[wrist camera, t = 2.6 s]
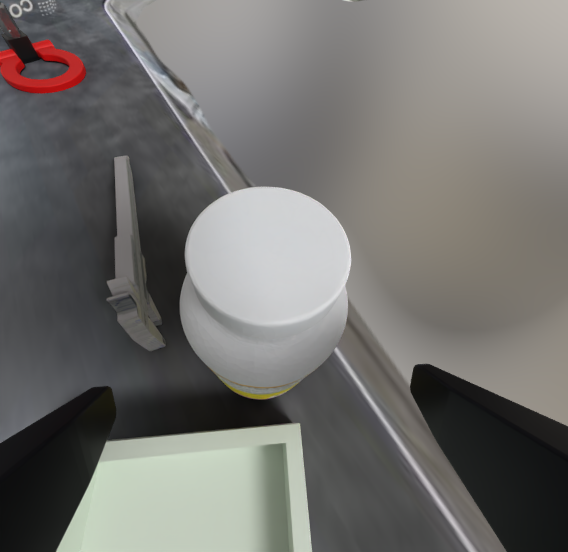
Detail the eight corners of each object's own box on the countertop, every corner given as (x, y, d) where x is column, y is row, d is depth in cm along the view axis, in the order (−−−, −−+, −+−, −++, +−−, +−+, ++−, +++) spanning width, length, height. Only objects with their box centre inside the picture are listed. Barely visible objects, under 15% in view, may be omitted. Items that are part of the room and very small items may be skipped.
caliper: (169, 348, 18) (133, 317, 13) (153, 353, 18) (108, 325, 12) (129, 159, 27) (97, 92, 21) (118, 161, 26) (82, 94, 21)
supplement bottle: (229, 297, 20) (198, 144, 9) (313, 316, 20) (387, 186, 9) (199, 389, 17) (89, 330, 6) (299, 411, 17) (387, 397, 6)
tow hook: (102, 82, 33) (60, 49, 35) (25, -91, 22) (-31, -126, 23) (32, 106, 29) (-10, 68, 31) (-103, -84, 18) (-157, -126, 20)
